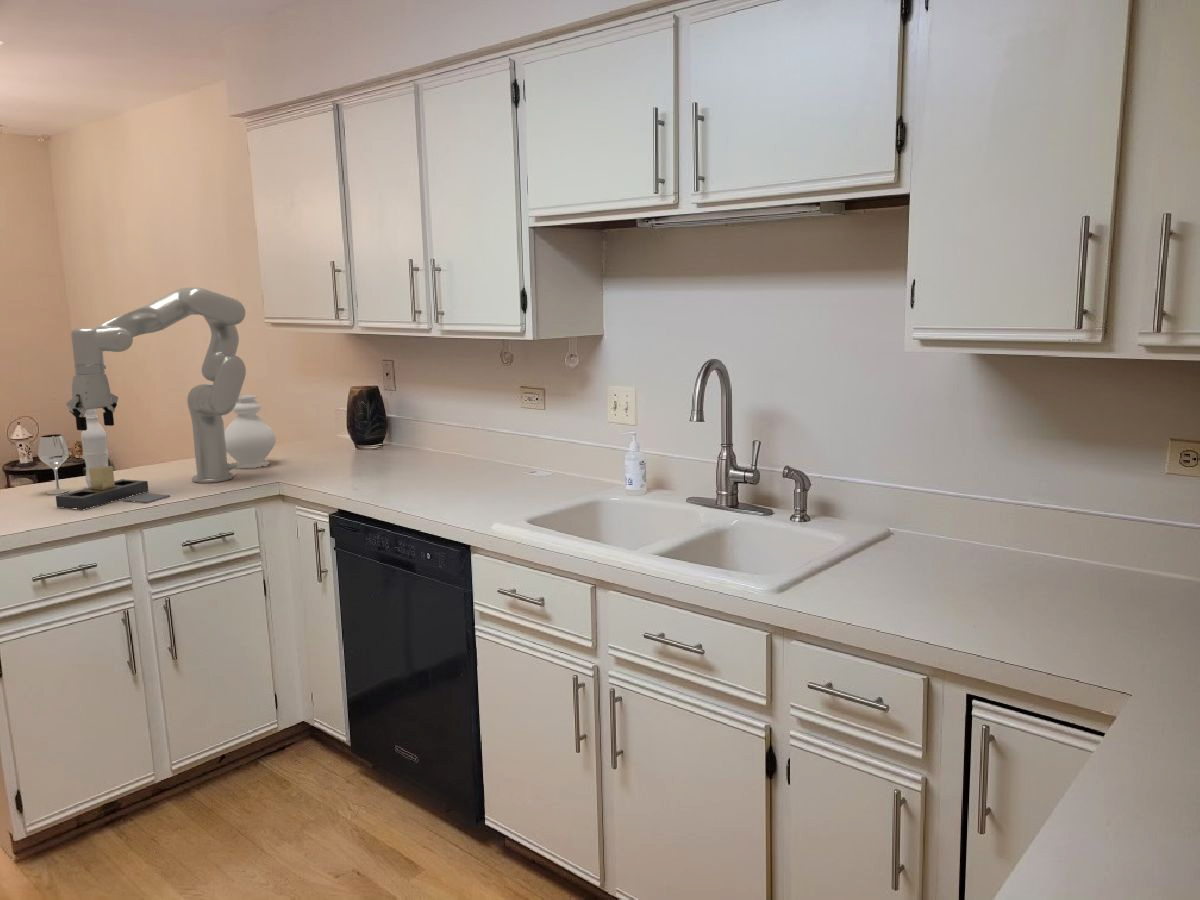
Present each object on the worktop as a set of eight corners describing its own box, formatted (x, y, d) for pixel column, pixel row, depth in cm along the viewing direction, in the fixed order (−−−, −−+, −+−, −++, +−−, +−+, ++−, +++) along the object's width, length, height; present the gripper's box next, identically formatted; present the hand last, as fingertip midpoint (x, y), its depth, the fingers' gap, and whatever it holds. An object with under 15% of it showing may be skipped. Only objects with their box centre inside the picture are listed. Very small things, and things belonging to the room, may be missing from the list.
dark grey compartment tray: (123, 490, 281) (122, 479, 280) (148, 491, 278) (147, 481, 277) (57, 507, 258) (55, 496, 258) (84, 510, 255) (82, 498, 255)
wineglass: (46, 490, 281) (39, 434, 278) (75, 488, 284) (69, 433, 280) (40, 496, 273) (33, 438, 270) (70, 494, 276) (63, 436, 273)
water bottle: (101, 490, 281) (92, 412, 276) (81, 489, 282) (72, 411, 278) (117, 485, 288) (109, 409, 283) (98, 484, 289) (89, 408, 285)
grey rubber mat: (146, 494, 274) (146, 493, 274) (170, 496, 271) (169, 495, 271) (122, 501, 265) (122, 499, 265) (147, 503, 263) (147, 501, 263)
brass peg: (104, 497, 271) (101, 465, 269) (116, 498, 270) (112, 466, 268) (92, 500, 267) (88, 468, 265) (104, 501, 265) (100, 469, 264)
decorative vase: (255, 471, 308) (249, 399, 304) (213, 468, 314) (206, 398, 309) (287, 461, 325) (282, 394, 321) (247, 459, 331) (241, 392, 326)
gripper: (104, 367, 270) (109, 423, 273) (54, 372, 254) (60, 431, 257) (123, 368, 268) (129, 424, 271) (74, 373, 252) (81, 432, 255)
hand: (95, 427), depth 264 cm, fingers open, 9 cm apart
